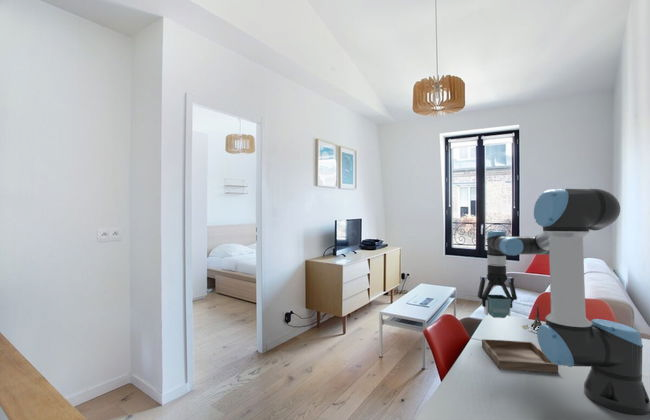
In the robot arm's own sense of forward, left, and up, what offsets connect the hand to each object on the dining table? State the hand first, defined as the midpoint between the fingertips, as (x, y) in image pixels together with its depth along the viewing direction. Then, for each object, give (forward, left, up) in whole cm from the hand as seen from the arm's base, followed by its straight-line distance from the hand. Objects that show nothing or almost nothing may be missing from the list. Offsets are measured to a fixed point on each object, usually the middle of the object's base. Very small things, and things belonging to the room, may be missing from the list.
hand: (497, 314), depth 147 cm
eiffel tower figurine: (+15, -24, -11) cm, 30 cm away
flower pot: (0, 0, -1) cm, 1 cm away
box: (-21, 0, -11) cm, 23 cm away
